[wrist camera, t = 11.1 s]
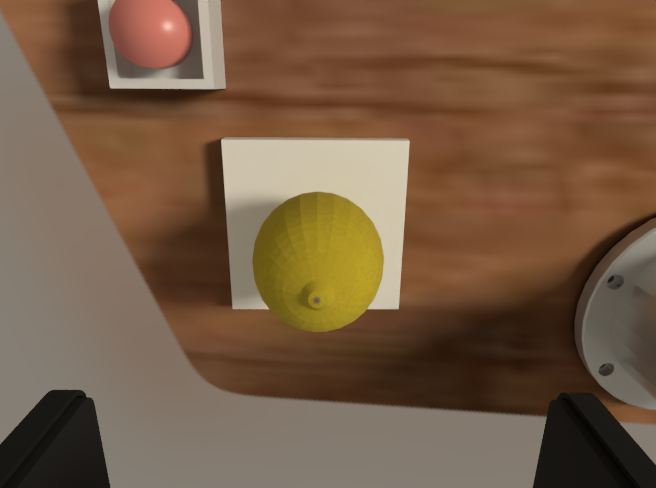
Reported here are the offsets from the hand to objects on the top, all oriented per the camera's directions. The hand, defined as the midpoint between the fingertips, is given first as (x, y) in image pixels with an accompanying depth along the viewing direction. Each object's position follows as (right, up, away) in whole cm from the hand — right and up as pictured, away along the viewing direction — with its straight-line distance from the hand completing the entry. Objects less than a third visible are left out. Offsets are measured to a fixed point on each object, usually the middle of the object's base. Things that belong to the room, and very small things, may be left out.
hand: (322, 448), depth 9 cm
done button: (-7, +13, +10) cm, 18 cm away
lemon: (0, +5, +14) cm, 15 cm away
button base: (-7, +14, +12) cm, 19 cm away
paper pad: (0, +5, +15) cm, 16 cm away
